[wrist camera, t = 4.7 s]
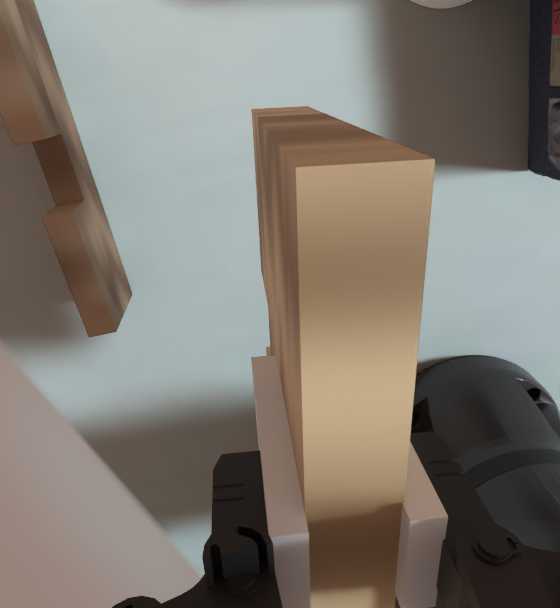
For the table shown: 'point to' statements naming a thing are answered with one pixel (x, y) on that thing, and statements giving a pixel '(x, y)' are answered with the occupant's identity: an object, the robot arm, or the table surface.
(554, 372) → the table surface
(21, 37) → the standing plate
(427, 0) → the mug
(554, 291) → the table surface
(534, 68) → the vhs cassette tape
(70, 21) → the table surface
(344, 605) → the cross plate
